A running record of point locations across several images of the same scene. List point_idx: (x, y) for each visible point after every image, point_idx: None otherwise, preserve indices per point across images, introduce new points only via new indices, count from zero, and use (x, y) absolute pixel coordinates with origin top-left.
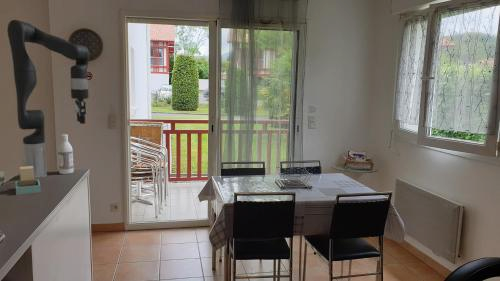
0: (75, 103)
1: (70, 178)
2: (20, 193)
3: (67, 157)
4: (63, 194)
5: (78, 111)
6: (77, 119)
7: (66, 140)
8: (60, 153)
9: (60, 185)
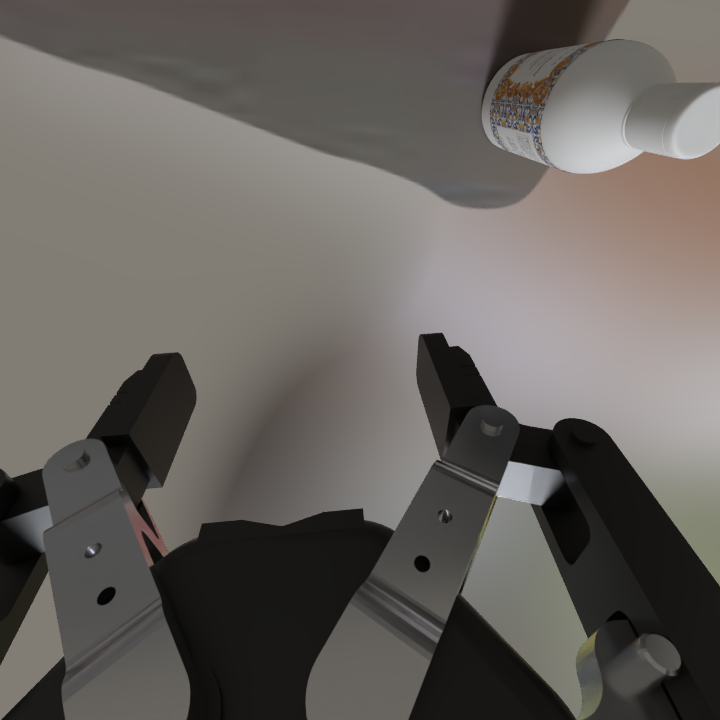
0: (333, 704)
1: (370, 115)
2: None
3: (521, 120)
4: (16, 37)
5: (108, 497)
6: (425, 349)
7: (631, 134)
8: (566, 62)
9: (225, 36)
